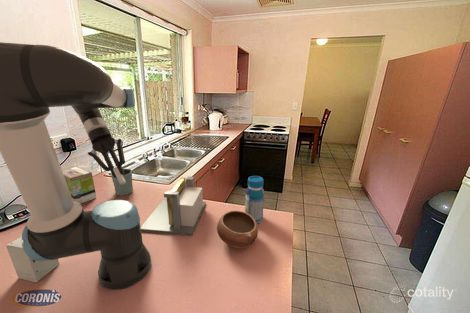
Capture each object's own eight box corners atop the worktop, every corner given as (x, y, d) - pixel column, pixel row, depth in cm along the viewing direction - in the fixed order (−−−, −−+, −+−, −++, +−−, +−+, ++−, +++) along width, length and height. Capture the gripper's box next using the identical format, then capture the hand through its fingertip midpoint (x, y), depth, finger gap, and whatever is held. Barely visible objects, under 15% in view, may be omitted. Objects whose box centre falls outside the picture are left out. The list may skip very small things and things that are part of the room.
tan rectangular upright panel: (187, 201, 107) (186, 177, 102) (173, 225, 88) (171, 197, 84) (182, 201, 107) (181, 177, 103) (168, 224, 89) (165, 197, 84)
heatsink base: (205, 204, 108) (204, 172, 103) (192, 235, 85) (190, 197, 80) (163, 201, 110) (160, 170, 104) (139, 231, 87) (134, 193, 82)
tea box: (97, 197, 112) (92, 171, 107) (75, 206, 104) (69, 178, 99) (83, 190, 119) (78, 165, 115) (62, 197, 111) (55, 171, 107)
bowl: (250, 260, 74) (252, 236, 71) (210, 248, 79) (209, 225, 76) (261, 233, 88) (262, 212, 85) (226, 224, 93) (226, 204, 90)
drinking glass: (128, 186, 125) (125, 167, 121) (138, 191, 120) (135, 171, 116) (110, 192, 117) (107, 172, 113) (120, 198, 112) (116, 177, 108)
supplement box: (37, 283, 64) (24, 249, 60) (17, 278, 65) (4, 245, 61) (60, 264, 71) (51, 232, 67) (42, 260, 72) (32, 229, 68)
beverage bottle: (255, 226, 92) (257, 184, 85) (240, 218, 97) (241, 178, 91) (266, 218, 97) (269, 178, 91) (251, 211, 103) (254, 173, 96)
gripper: (118, 128, 90) (142, 176, 86) (86, 142, 87) (109, 192, 82) (110, 120, 83) (136, 172, 79) (75, 135, 79) (101, 190, 75)
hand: (122, 183), depth 81 cm, fingers closed
